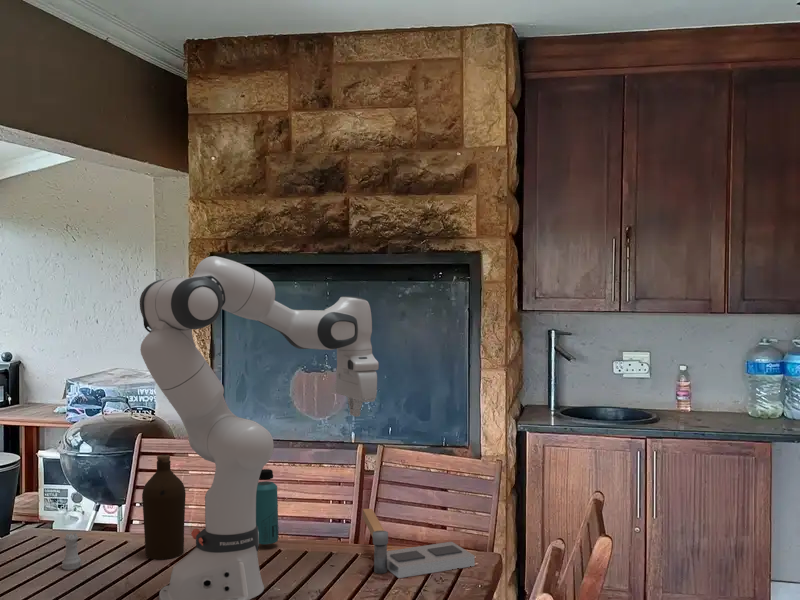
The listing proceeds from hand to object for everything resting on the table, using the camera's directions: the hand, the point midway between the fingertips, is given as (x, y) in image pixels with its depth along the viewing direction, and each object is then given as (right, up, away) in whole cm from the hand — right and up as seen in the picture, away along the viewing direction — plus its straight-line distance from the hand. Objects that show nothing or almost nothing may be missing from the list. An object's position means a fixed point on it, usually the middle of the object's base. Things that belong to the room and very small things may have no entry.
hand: (355, 415), depth 206 cm
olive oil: (-49, -36, +2) cm, 60 cm away
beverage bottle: (-24, -35, +8) cm, 43 cm away
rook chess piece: (-68, -36, -8) cm, 77 cm away
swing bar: (+5, -28, -2) cm, 29 cm away
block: (+16, -35, -8) cm, 39 cm away
